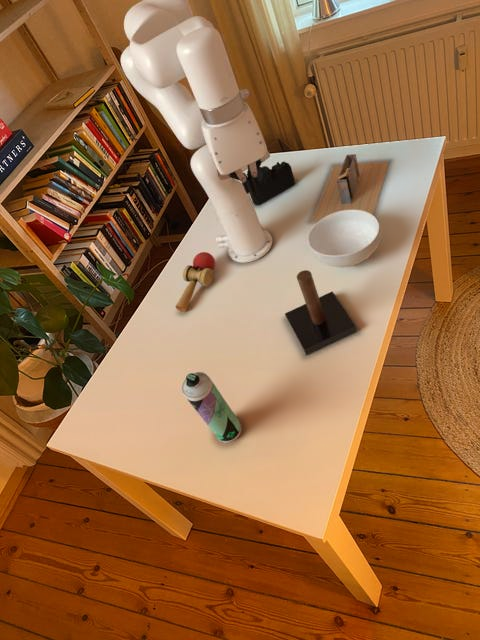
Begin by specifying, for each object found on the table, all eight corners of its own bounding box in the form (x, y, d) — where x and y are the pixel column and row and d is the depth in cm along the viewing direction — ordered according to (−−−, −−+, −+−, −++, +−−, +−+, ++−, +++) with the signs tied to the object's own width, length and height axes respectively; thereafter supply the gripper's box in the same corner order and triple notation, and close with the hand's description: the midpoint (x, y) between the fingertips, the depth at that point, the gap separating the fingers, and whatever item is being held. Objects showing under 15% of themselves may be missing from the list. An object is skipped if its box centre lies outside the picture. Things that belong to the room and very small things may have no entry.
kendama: (200, 316, 125) (225, 260, 132) (185, 303, 121) (212, 245, 128) (179, 316, 130) (204, 261, 137) (164, 303, 126) (191, 247, 133)
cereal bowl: (385, 227, 122) (382, 205, 117) (380, 276, 112) (376, 253, 107) (319, 233, 128) (313, 212, 123) (308, 279, 119) (301, 258, 114)
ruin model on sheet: (372, 220, 125) (366, 189, 118) (311, 221, 133) (303, 192, 126) (389, 161, 138) (385, 130, 131) (333, 165, 146) (327, 136, 139)
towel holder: (284, 319, 113) (332, 308, 115) (303, 356, 104) (354, 343, 107) (286, 258, 101) (340, 247, 103) (308, 293, 92) (366, 281, 95)
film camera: (284, 171, 152) (276, 146, 146) (298, 184, 146) (291, 158, 139) (242, 195, 152) (232, 171, 145) (255, 209, 145) (245, 184, 138)
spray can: (215, 422, 101) (175, 368, 87) (240, 415, 100) (204, 360, 86) (217, 445, 98) (175, 394, 84) (242, 439, 97) (205, 385, 82)
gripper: (254, 82, 87) (281, 168, 101) (179, 118, 88) (216, 200, 101) (268, 96, 82) (294, 185, 95) (188, 135, 83) (225, 218, 96)
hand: (254, 192), depth 98 cm, fingers closed
